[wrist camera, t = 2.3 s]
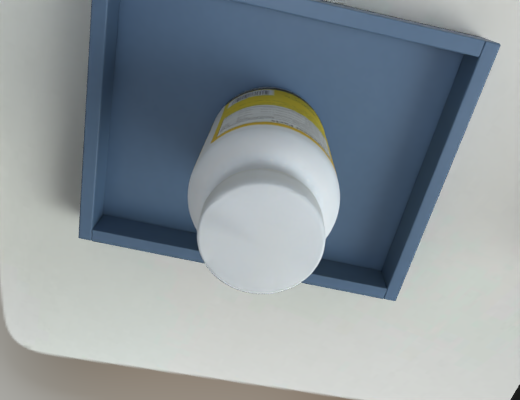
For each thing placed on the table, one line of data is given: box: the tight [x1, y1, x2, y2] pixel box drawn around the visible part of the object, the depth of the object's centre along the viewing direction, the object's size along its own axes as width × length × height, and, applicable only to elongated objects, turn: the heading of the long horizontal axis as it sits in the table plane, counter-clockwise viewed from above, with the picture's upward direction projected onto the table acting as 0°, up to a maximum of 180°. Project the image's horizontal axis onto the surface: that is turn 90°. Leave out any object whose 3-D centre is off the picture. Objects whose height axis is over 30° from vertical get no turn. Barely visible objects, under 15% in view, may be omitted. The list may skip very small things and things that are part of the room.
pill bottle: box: [188, 87, 340, 294], centre depth 23 cm, size 6×6×12 cm
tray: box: [79, 0, 500, 301], centre depth 27 cm, size 20×16×2 cm
